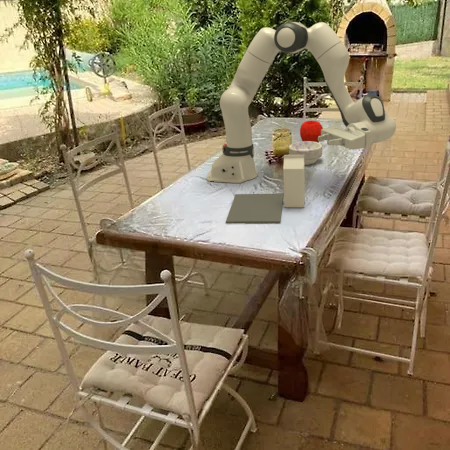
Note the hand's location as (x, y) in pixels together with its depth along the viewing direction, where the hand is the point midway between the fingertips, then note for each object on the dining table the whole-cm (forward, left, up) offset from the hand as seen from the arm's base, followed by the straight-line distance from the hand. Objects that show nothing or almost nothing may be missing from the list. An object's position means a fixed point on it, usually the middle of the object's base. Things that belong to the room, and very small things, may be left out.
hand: (323, 141), depth 173 cm
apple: (-4, +70, -22) cm, 73 cm away
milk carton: (-11, -6, -22) cm, 25 cm away
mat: (-25, -10, -22) cm, 34 cm away
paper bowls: (-7, +45, -22) cm, 51 cm away
